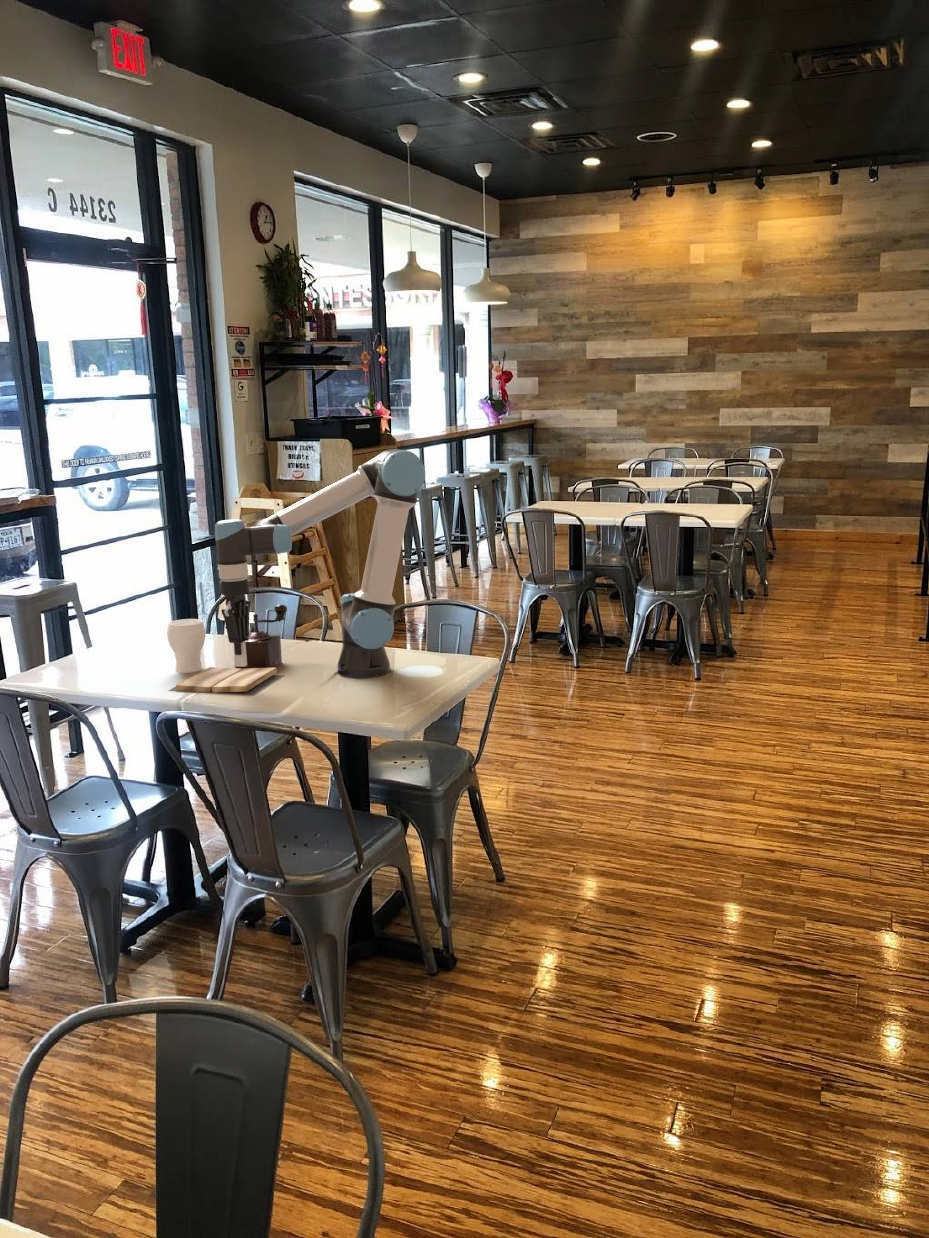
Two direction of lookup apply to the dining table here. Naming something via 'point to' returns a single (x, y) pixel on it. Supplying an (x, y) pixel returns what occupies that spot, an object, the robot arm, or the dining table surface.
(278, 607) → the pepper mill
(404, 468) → the robot arm
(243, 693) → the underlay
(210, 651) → the dining table surface
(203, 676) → the plank
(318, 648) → the dining table surface
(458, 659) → the dining table surface
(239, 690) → the plank
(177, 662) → the cup
